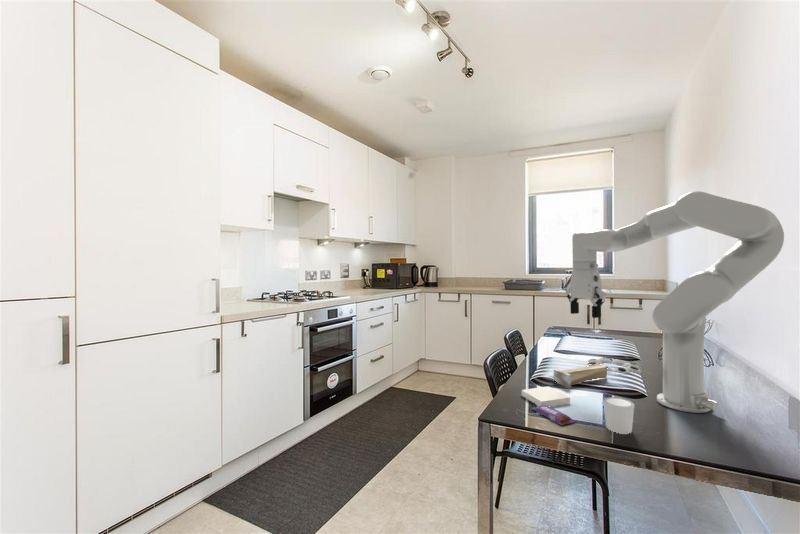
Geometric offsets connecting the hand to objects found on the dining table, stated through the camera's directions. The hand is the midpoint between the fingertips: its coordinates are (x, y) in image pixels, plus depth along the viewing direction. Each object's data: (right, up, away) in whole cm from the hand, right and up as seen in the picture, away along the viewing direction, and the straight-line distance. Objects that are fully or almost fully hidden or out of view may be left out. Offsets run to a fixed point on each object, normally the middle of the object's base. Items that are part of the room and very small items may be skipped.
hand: (585, 315), depth 128 cm
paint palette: (+19, -23, +16) cm, 34 cm away
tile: (-15, -23, -14) cm, 31 cm away
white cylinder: (-9, -25, -35) cm, 44 cm away
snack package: (-23, -25, -27) cm, 43 cm away
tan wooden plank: (0, -23, 0) cm, 23 cm away
